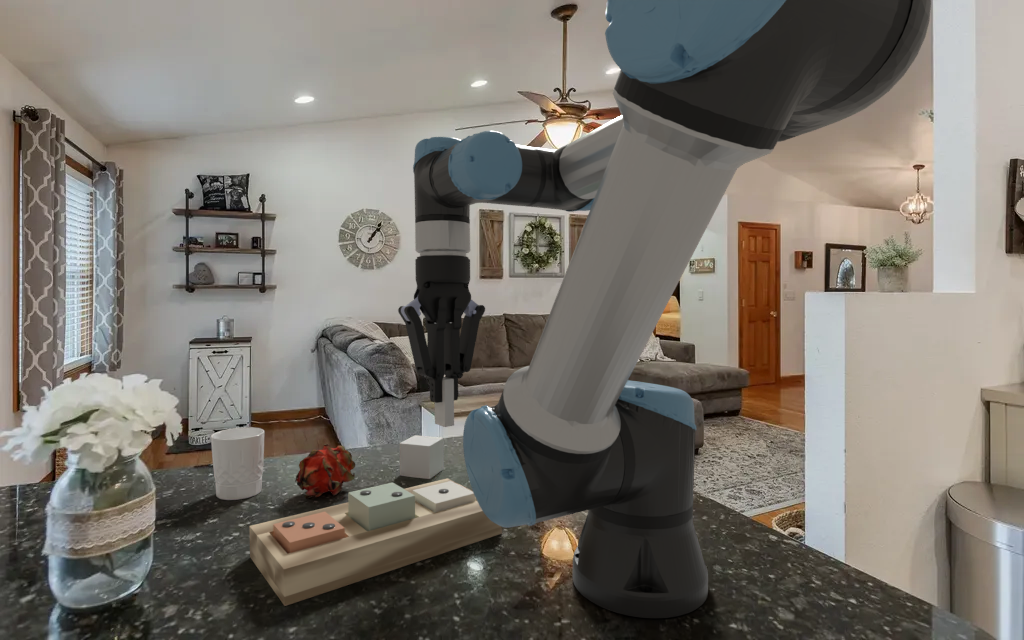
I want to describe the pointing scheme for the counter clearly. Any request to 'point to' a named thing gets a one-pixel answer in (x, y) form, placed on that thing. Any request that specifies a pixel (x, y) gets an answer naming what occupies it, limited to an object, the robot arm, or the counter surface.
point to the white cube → (421, 456)
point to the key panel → (364, 547)
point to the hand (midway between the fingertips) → (444, 424)
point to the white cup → (238, 462)
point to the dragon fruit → (325, 471)
